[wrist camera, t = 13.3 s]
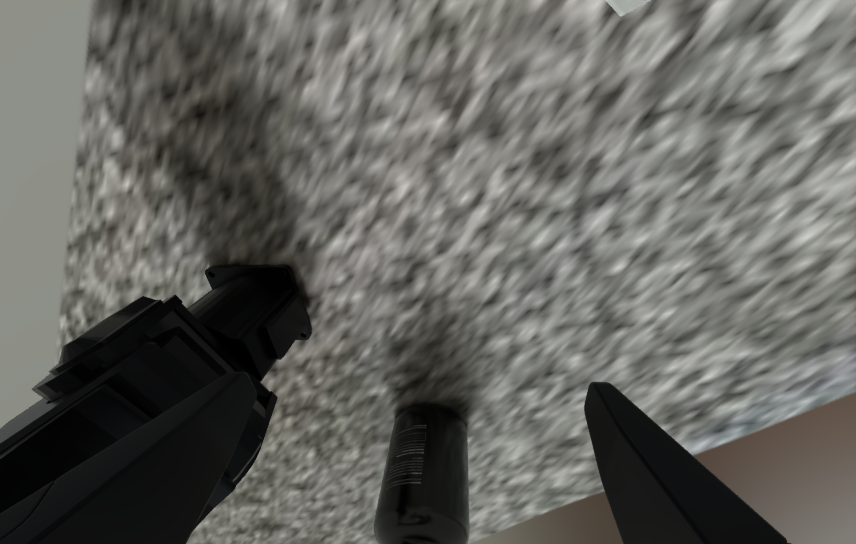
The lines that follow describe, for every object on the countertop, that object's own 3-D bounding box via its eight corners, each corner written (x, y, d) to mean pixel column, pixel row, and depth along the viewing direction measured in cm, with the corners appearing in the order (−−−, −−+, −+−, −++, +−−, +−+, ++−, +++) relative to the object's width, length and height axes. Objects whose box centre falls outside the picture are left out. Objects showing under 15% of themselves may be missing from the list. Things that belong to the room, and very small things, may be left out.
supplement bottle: (394, 442, 31) (357, 616, 21) (396, 395, 28) (354, 575, 17) (463, 453, 31) (461, 634, 20) (473, 407, 27) (478, 596, 17)
